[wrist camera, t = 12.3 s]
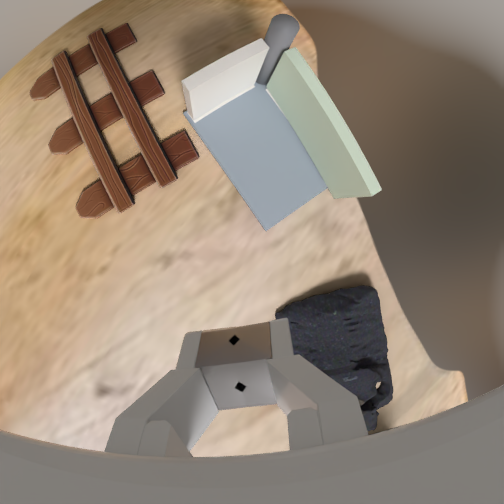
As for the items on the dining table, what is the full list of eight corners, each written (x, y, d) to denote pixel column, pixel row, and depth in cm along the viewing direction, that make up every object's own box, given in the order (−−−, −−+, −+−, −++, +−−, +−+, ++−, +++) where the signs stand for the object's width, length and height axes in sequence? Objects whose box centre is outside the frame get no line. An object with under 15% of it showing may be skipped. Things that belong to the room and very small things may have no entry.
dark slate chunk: (381, 271, 38) (401, 279, 34) (389, 405, 42) (403, 420, 37) (267, 304, 37) (275, 317, 32) (296, 439, 40) (304, 459, 36)
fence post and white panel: (197, 126, 33) (191, 87, 21) (185, 110, 32) (175, 65, 20) (276, 80, 33) (305, 29, 21) (264, 65, 33) (288, 10, 21)
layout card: (265, 230, 35) (266, 231, 35) (183, 113, 32) (182, 112, 32) (341, 177, 36) (343, 177, 35) (264, 67, 33) (264, 65, 32)
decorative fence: (126, 21, 30) (29, 83, 29) (123, 14, 28) (23, 79, 27) (204, 166, 34) (91, 233, 33) (204, 164, 32) (86, 234, 31)
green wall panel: (266, 86, 32) (284, 51, 23) (275, 82, 32) (295, 47, 23) (333, 198, 35) (372, 196, 26) (342, 193, 35) (382, 189, 26)
